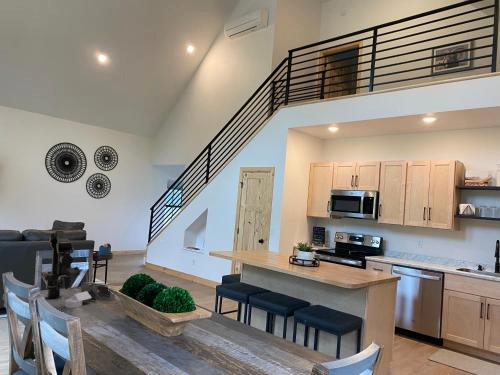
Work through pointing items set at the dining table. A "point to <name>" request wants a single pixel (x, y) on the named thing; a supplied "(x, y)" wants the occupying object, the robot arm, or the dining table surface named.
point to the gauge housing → (103, 292)
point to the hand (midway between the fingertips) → (62, 290)
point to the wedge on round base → (77, 300)
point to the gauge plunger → (91, 290)
